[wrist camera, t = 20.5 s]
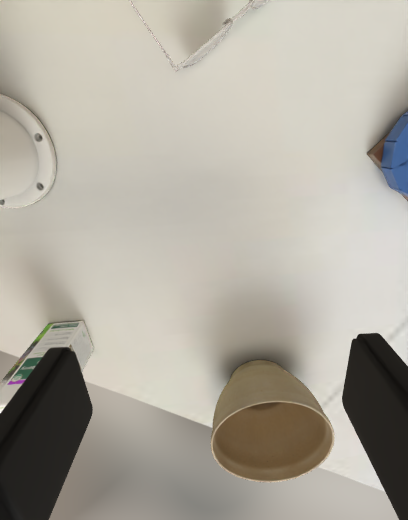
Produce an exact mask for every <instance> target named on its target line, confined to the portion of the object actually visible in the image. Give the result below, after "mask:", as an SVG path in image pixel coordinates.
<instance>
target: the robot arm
mask: <svg viewBox="0 0 408 520" xmlns="http://www.w3.org/2000/svg"><path fill="white" fill-rule="evenodd" d="M41 136H42V139H41ZM55 174H56V156H55V151H54V147H53V144H52V142H51V139H50V137H49V135H48V133H47V131H46V130H45V128H44V126H43V125H42V124H41V122H40V121H39V120H38V118H37V117H36V116H35V115H34V114H33V113H32V112H31V111H30V110H29V109H27V108H26V107H25V106H23V105H22V104H20V103H19V102H18V101H16V100H14V99H12V98H9V97H7V96H5V95H1V94H0V207H3V208H21V207H25V206H28V205H31V204H33V203H35V202H37V201H39V200H40V199H42V198H43V197H44V196H45V195H46V194H47V193H48V191H49V190H50V188H51V186H52V184H53V182H54V179H55ZM42 185H43V186H44V187H43V186H42ZM342 402H343V406H344V409H345V411H346V413H347V415H348V417H349V419H350V421H351V423H352V425H353V427H354V429H355V431H356V433H357V435H358V437H359V439H360V441H361V443H362V445H363V447H364V449H365V451H366V453H367V455H368V457H369V459H370V461H371V463H372V465H373V467H374V469H375V471H376V474H377V476H378V478H379V480H380V482H381V484H382V486H383V488H384V490H385V492H386V494H387V496H388V498H389V499H390V501H391V504H392V506H393V508H394V510H395V512H396V514H397V516H398V518H399V520H408V366H407V365H406V364H405V363H404V362H403V360H402V359H401V358H400V357H399V356H398V355H397V353H396V352H395V351H394V350H393V349H392V348H391V346H390V345H389V344H388V343H387V342H386V341H385V339H384V338H383V337H382V336H381V335H380V334H378V333H370V334H359V335H358V336H357V339H353V340H352V343H351V349H350V355H349V361H348V367H347V372H346V378H345V384H344V390H343V396H342ZM91 416H92V404H91V401H90V397H89V394H88V391H87V388H86V385H85V381H84V378H83V375H82V372H81V369H80V366H79V362H78V359H77V356H76V353H75V352H74V351H71V349H70V348H69V347H54V348H50V349H48V350H47V352H46V353H45V354H44V356H43V357H42V358H41V360H40V361H39V362H38V364H37V365H36V366H35V368H34V369H33V370H32V372H31V373H30V374H29V376H28V377H27V378H26V380H25V381H24V382H23V384H22V385H21V386H20V388H19V389H18V390H17V392H16V393H15V394H14V396H13V397H12V398H11V400H10V401H9V402H8V404H7V405H6V407H5V408H4V409H3V411H2V412H1V413H0V520H49V518H50V515H51V513H52V510H53V508H54V506H55V503H56V501H57V498H58V496H59V493H60V491H61V489H62V486H63V484H64V482H65V479H66V477H67V474H68V472H69V469H70V467H71V465H72V462H73V460H74V457H75V455H76V453H77V450H78V448H79V445H80V443H81V441H82V438H83V436H84V433H85V431H86V428H87V426H88V424H89V421H90V419H91Z"/></svg>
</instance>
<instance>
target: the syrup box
mask: <svg viewBox="0 0 408 520" xmlns="http://www.w3.org/2000/svg"><path fill="white" fill-rule="evenodd" d="M54 347H69V348H70V349H71V351H74V352H75V353H76V356H77V359H78V362H79V366H80V369H81V372H82V371H83V369H84V367H85V365H86V363H87V361H88V359H89V357H90V355H91V353H92V352H93V346H92V343H91V339H90V337H89V334H88V331H87V329H86V326H85V323H84V321H76V322H63V323H53V324H48V325H47V326H46V327H45V328H44V330H43V331H42V332H41V333H40V334H39V336H38V337H37V338H36V339H35V341H34V342H33V343H32V344H31V346H30V347H29V348H28V349H27V350H26V352H25V353H24V354H23V355H22V356H21V358H20V359H19V360H18V361H17V363H16V364H15V365H14V366H13V367H12V369H11V370H10V371H9V372H8V374H7V375H6V376H5V377H4V378H3V380H2V381H1V382H0V413H1V412H2V411H3V409H4V408H5V407H6V405H7V404H8V402H9V401H10V400H11V398H12V397H13V396H14V394H15V393H16V392H17V390H18V389H19V388H20V386H21V385H22V384H23V382H24V381H25V380H26V378H27V377H28V376H29V374H30V373H31V372H32V370H33V369H34V368H35V366H36V365H37V364H38V362H39V361H40V360H41V358H42V357H43V356H44V354H45V353H46V352H47V350H48V349H50V348H54Z"/></svg>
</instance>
